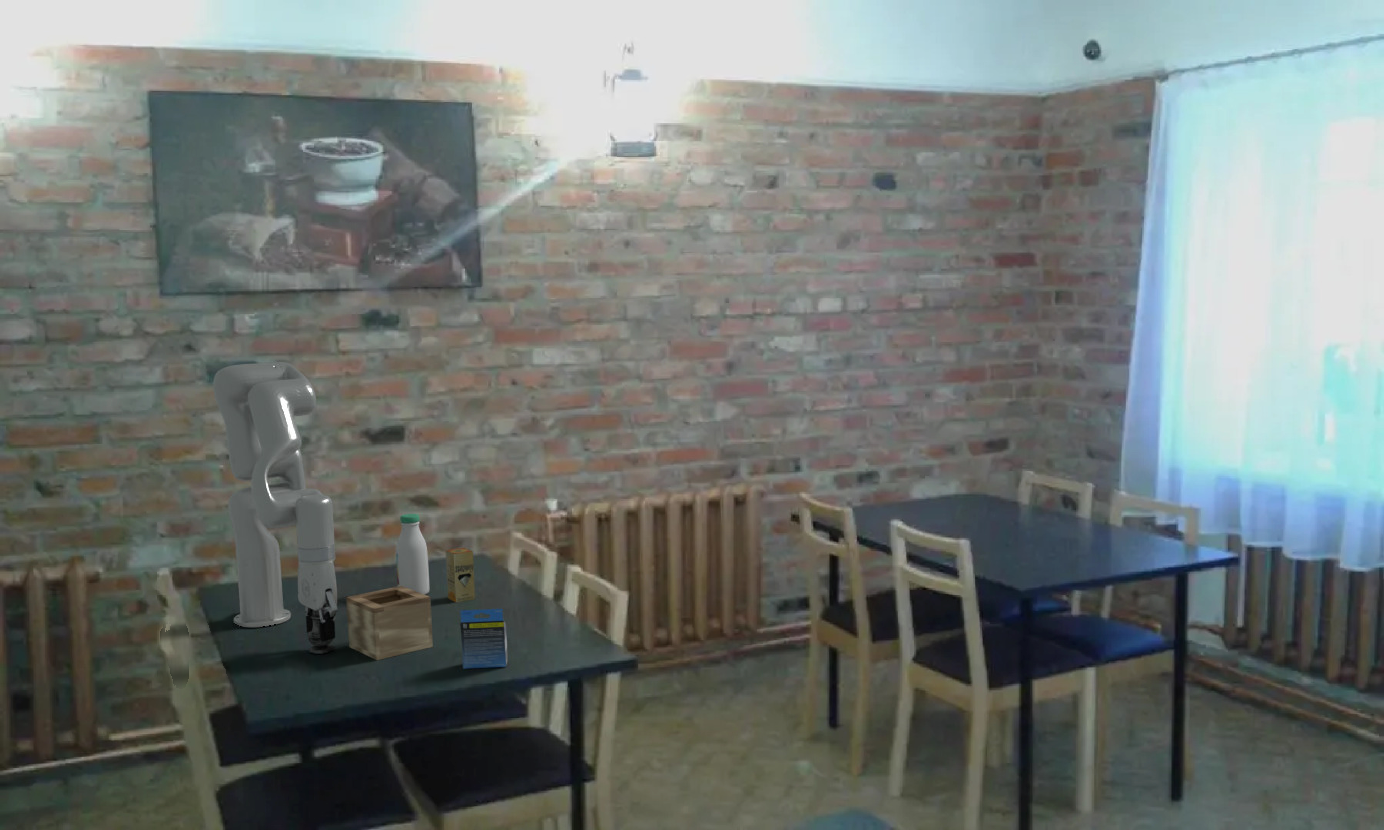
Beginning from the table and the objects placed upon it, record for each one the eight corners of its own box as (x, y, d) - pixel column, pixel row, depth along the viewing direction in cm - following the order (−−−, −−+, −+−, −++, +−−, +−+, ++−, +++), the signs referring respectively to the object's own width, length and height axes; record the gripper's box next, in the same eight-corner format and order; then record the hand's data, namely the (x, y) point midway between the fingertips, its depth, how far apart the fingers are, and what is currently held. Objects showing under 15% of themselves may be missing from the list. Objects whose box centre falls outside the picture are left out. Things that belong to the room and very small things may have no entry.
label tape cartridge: (508, 661, 255) (505, 603, 254) (506, 667, 251) (503, 608, 250) (464, 663, 255) (462, 604, 253) (462, 669, 251) (459, 609, 249)
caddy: (349, 646, 268) (346, 597, 266) (403, 634, 276) (401, 585, 275) (376, 660, 258) (374, 608, 257) (432, 646, 266) (430, 596, 265)
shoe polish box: (475, 599, 304) (472, 551, 303) (456, 602, 301) (453, 554, 300) (466, 595, 308) (464, 547, 307) (448, 598, 306) (445, 550, 304)
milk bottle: (436, 591, 312) (432, 513, 310) (413, 599, 305) (409, 519, 303) (413, 588, 316) (409, 511, 314) (391, 595, 310) (387, 516, 307)
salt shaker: (327, 654, 262) (324, 599, 260) (302, 653, 263) (299, 598, 262) (341, 645, 268) (338, 591, 266) (315, 644, 269) (312, 590, 267)
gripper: (282, 549, 267) (287, 630, 269) (316, 564, 254) (321, 649, 256) (316, 543, 272) (320, 623, 274) (351, 557, 259) (355, 641, 261)
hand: (321, 635), depth 265 cm, fingers closed on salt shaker, 5 cm apart
